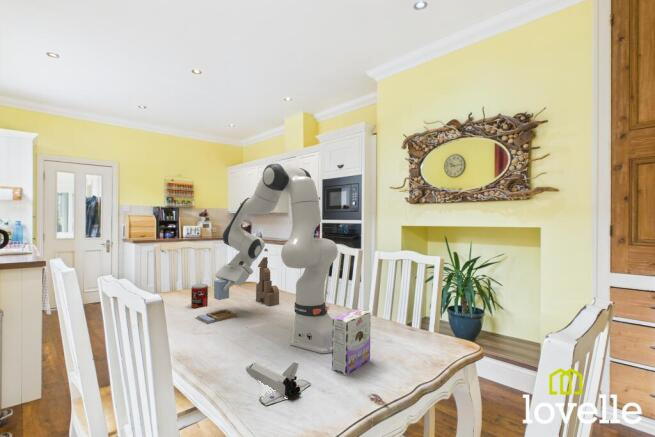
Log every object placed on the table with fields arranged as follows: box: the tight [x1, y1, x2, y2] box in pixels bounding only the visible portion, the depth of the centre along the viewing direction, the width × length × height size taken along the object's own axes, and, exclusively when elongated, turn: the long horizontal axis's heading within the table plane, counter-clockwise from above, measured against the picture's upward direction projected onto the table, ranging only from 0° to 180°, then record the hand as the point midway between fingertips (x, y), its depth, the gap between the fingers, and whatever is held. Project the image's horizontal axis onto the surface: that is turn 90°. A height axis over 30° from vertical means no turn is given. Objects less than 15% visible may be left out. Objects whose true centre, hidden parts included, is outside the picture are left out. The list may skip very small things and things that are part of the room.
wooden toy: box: [255, 256, 280, 307], centre depth 181 cm, size 15×7×25 cm, turn 42°
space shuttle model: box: [245, 362, 312, 406], centre depth 95 cm, size 16×25×10 cm, turn 45°
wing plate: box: [197, 314, 216, 324], centre depth 146 cm, size 10×3×1 cm, turn 47°
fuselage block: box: [213, 279, 230, 301], centre depth 151 cm, size 4×5×8 cm
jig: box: [194, 309, 241, 325], centre depth 150 cm, size 12×16×2 cm
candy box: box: [331, 308, 371, 376], centre depth 106 cm, size 14×6×16 cm, turn 141°
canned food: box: [190, 283, 209, 310], centre depth 171 cm, size 8×8×11 cm
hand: (220, 288), depth 151 cm, fingers closed on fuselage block, 4 cm apart
